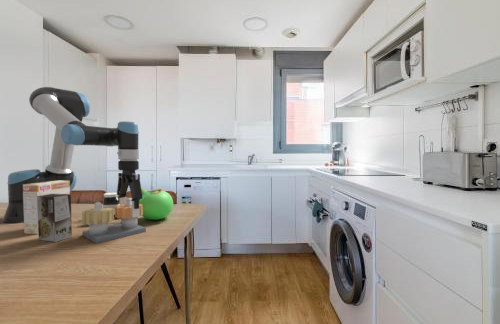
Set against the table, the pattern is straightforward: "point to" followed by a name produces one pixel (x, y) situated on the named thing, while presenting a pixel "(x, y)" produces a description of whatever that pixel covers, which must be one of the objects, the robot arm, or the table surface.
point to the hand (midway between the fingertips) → (129, 214)
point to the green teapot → (156, 204)
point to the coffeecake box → (31, 200)
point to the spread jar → (111, 201)
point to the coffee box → (54, 217)
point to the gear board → (114, 233)
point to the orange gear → (126, 211)
